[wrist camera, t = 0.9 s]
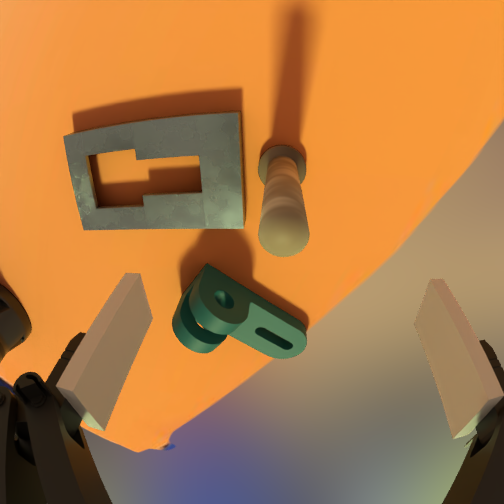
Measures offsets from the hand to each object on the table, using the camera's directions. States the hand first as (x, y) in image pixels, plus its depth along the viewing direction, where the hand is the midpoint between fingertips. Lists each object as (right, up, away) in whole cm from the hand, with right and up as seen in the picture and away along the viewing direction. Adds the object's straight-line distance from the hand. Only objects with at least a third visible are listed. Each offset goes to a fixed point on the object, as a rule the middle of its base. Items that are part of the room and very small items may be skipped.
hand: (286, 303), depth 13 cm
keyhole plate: (-12, +11, +19) cm, 25 cm away
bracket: (-2, -6, +29) cm, 29 cm away
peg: (+2, +11, +18) cm, 21 cm away
